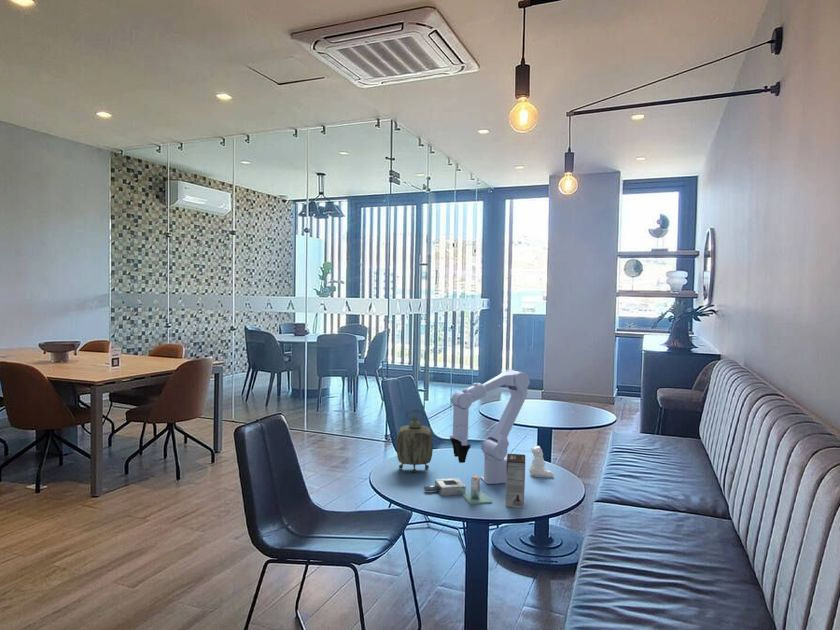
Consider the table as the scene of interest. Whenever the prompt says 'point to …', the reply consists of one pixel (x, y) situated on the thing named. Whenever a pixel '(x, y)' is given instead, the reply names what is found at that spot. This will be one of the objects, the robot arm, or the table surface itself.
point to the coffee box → (515, 480)
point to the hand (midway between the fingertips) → (459, 459)
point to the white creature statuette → (539, 464)
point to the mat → (482, 499)
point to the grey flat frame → (447, 487)
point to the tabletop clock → (414, 443)
